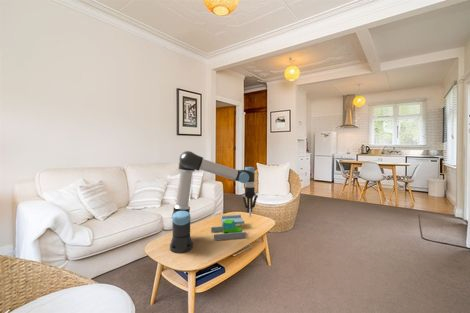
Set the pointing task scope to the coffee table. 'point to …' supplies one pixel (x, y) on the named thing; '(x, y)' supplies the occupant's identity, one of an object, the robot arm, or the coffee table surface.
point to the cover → (236, 219)
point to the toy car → (231, 227)
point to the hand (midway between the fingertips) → (249, 216)
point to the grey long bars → (227, 235)
